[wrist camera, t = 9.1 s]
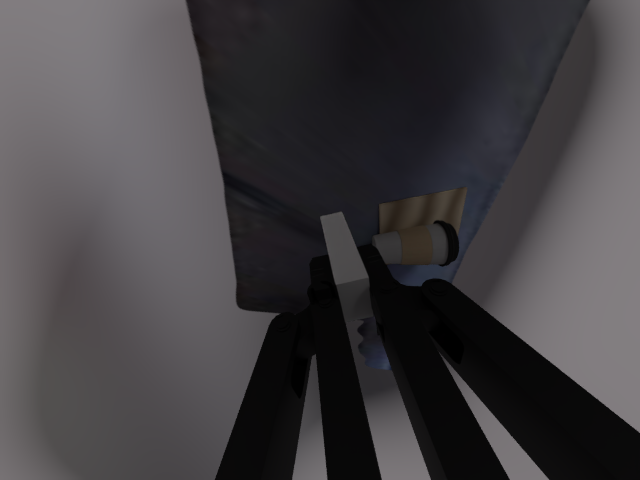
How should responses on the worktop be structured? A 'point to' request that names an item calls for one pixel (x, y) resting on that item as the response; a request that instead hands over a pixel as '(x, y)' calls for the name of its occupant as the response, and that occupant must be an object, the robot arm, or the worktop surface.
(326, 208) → the worktop surface
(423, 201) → the brown striped mat
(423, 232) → the coffee cup
